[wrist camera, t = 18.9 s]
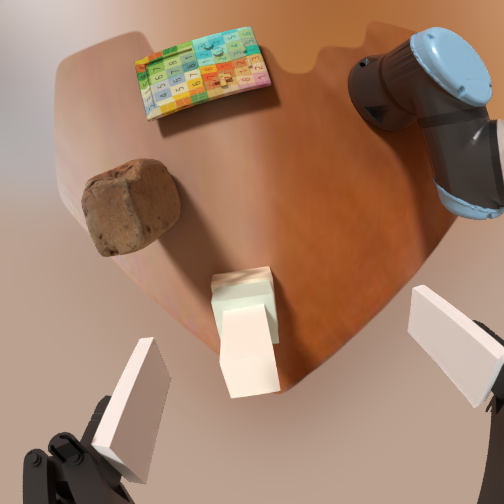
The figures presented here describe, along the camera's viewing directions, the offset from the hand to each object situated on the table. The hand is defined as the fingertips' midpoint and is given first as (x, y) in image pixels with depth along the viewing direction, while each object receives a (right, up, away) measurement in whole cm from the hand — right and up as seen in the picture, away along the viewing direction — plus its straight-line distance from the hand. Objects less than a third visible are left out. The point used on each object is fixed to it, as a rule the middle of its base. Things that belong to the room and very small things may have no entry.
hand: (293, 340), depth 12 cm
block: (-18, +14, +31) cm, 39 cm away
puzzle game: (-10, +34, +26) cm, 44 cm away
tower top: (-3, -5, +33) cm, 33 cm away
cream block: (-3, -7, +28) cm, 29 cm away
